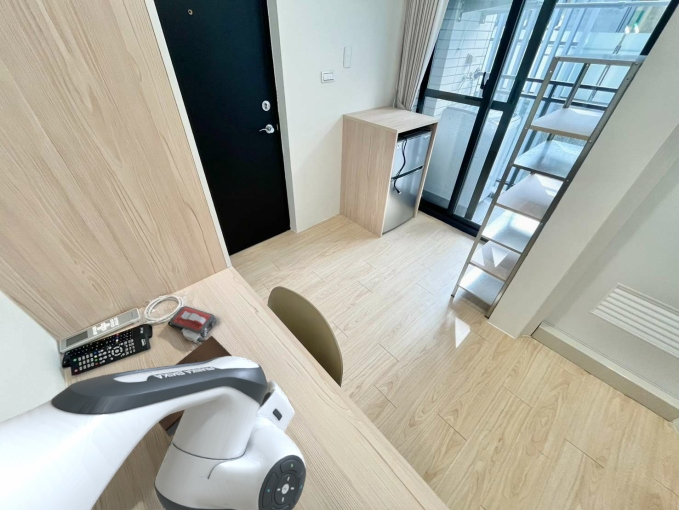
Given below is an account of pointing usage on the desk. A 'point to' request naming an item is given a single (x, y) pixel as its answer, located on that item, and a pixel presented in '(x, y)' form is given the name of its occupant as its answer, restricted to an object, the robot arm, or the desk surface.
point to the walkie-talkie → (193, 323)
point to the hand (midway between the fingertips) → (231, 418)
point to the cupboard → (199, 354)
